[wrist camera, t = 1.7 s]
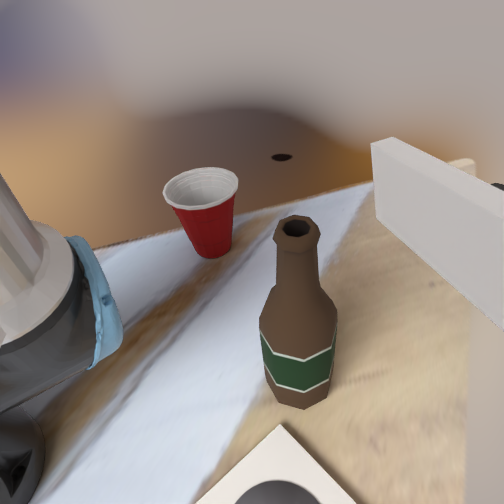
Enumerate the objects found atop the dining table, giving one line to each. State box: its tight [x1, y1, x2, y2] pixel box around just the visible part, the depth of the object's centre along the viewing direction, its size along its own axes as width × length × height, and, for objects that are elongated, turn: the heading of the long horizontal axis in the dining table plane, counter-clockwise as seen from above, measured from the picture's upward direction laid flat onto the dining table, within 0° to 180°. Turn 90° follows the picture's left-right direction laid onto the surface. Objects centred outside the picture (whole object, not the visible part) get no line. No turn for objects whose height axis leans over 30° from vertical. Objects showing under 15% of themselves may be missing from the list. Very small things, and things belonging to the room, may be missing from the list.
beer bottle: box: [259, 215, 337, 410], centre depth 41 cm, size 8×8×24 cm
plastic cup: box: [163, 167, 238, 258], centre depth 63 cm, size 11×11×12 cm
